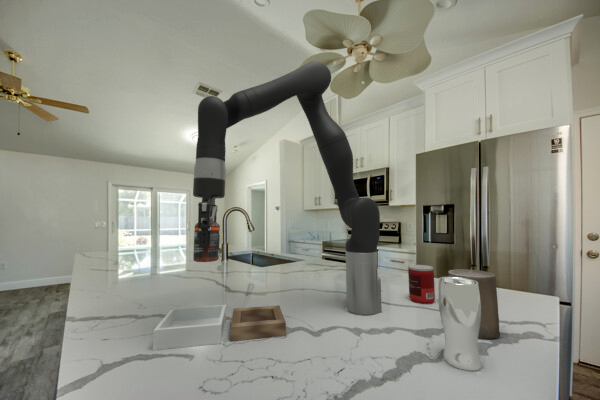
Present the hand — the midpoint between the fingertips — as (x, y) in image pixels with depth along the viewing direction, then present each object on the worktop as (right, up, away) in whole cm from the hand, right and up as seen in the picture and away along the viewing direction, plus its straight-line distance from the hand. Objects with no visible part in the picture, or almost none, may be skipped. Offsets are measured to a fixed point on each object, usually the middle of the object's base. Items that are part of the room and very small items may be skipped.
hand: (206, 245), depth 64 cm
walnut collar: (+12, -21, +1) cm, 24 cm away
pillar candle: (+65, -20, -1) cm, 68 cm away
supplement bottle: (0, -4, 0) cm, 4 cm away
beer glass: (+53, -19, -15) cm, 59 cm away
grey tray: (-2, -20, -2) cm, 21 cm away
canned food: (+63, -22, +22) cm, 70 cm away
